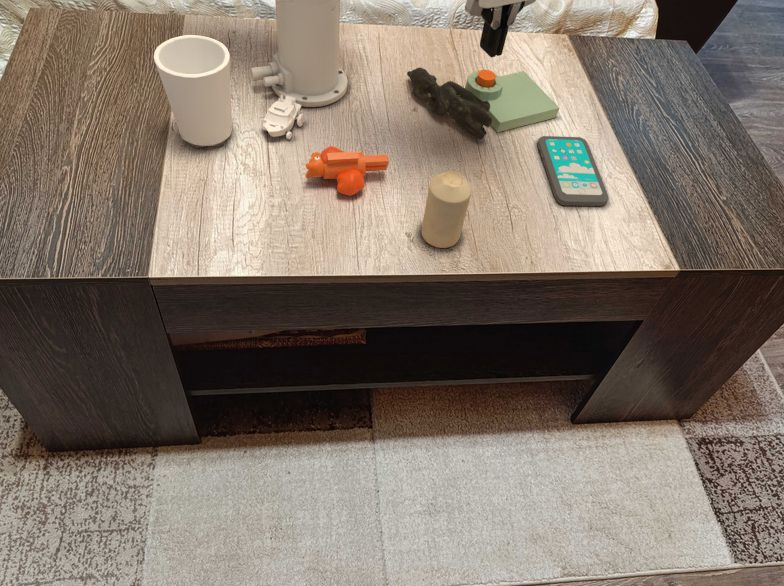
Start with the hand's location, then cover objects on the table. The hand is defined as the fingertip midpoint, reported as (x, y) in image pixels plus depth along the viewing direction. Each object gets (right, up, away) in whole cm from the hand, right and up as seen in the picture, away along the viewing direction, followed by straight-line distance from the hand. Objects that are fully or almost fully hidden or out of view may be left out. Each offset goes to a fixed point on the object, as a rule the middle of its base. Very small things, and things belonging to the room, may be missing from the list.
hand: (490, 50), depth 85 cm
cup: (-42, -9, +9) cm, 43 cm away
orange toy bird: (-20, -17, +6) cm, 27 cm away
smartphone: (+14, -13, +12) cm, 23 cm away
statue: (-6, -1, +13) cm, 14 cm away
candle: (-7, -25, +2) cm, 26 cm away
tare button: (+2, +3, +18) cm, 18 cm away
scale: (+6, +1, +21) cm, 21 cm away
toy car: (-31, -7, +11) cm, 33 cm away
